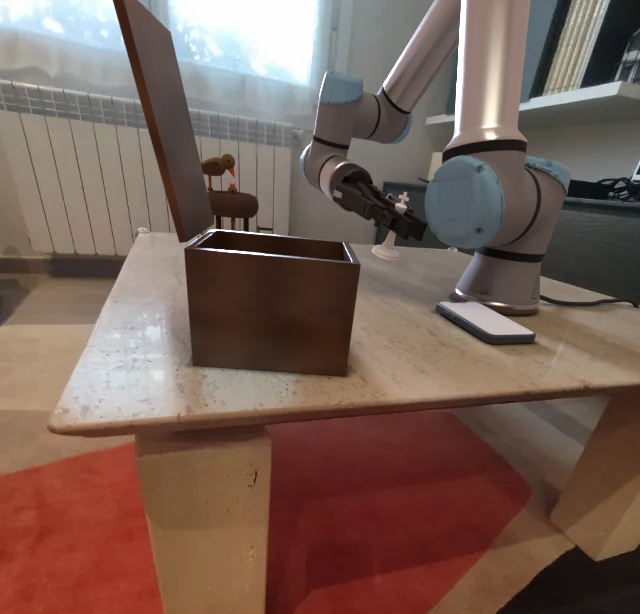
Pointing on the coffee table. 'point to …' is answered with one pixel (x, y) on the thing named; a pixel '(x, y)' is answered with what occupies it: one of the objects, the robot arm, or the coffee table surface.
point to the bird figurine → (229, 196)
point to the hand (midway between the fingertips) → (415, 231)
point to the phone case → (485, 323)
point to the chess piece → (391, 236)
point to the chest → (271, 302)
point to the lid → (166, 116)
